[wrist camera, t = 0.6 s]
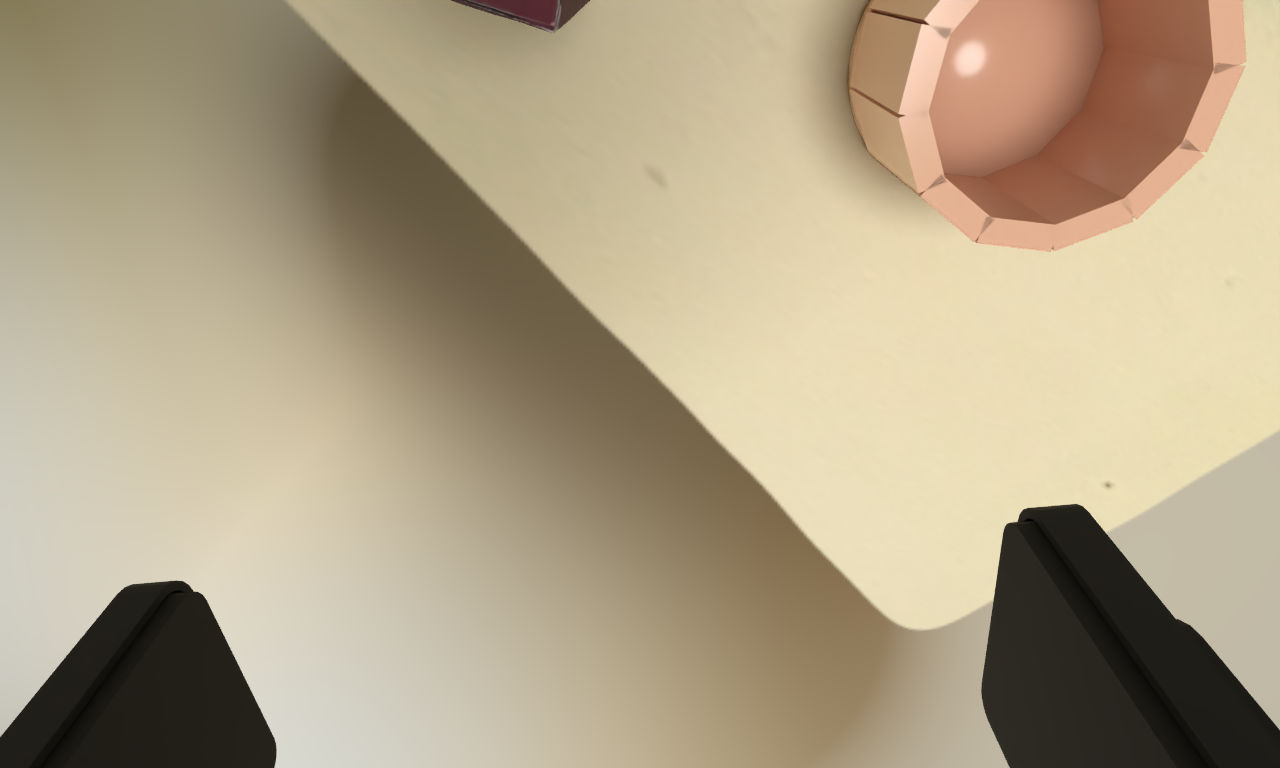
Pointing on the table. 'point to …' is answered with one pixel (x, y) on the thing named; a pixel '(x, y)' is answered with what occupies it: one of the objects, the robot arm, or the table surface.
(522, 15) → the supplement box
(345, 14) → the table surface
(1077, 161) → the bowl
